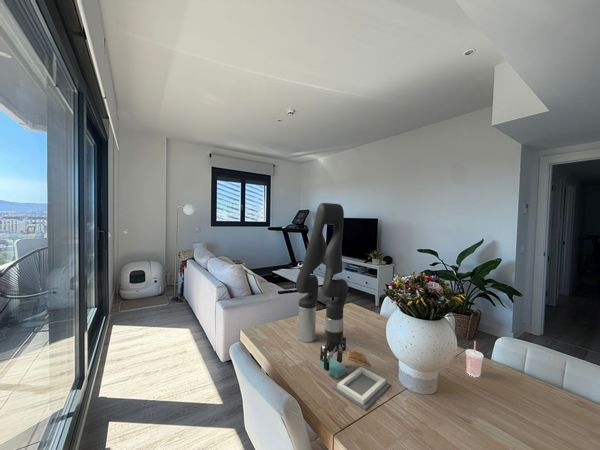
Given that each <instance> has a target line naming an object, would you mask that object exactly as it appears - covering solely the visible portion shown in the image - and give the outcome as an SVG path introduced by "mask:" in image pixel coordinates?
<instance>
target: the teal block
mask: <svg viewBox="0 0 600 450" xmlns="http://www.w3.org/2000/svg"><path fill="white" fill-rule="evenodd" d="M327 359H328V356H327ZM329 362H330V364H329V371H326V372H327V373H329V374H330V375H331V376H332V377H334V378H336V379H339V378H341V377H343V376H345V375H346V371H347V369H346V368H347V367H345V366H344V365H342V363H339V362H338V361H337V360H335V359H334V358H333V357H331V358H330V361H329ZM319 366H320V368H322V369H323V370H325V369H324V362H323V361H321V360H320V359H319Z"/></svg>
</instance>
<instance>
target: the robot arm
mask: <svg viewBox="0 0 600 450" xmlns="http://www.w3.org/2000/svg"><path fill="white" fill-rule="evenodd" d="M344 212H345V211H344V208H343V206H342V204H340V203H332V202H330V203H329V202H320V203H319V205H318V206H317V208H316V212H315V216H314V222H313V227H312V232H311V235H310V238H309V242H308V244H307V248H306V251H305V256H304V260H303V262H302V266H301V267H300V268H301V269H300V270H299V272H298V275H297V276H296V277H297V278H296V281H295V289H296V291H297V293H299V294H306V295H305V296H302V297H301V298H300V299H299V300H298V315H297V316H298V317H297V318H296V335H295V336H296V337H297V339H298V340H299V341H300V342H303V343H311V342H314V341H315V340H316V329H317V327H316V326H317V325H316V324H317V303H318V298H319V297H318V296H319V295H318V294H319V279H318V277H317V275H315V274H312V273H313V272H315V270H316V269H317V268H318V267H320V266H321V265H322V263H323V262H324V261H325V271H324V272H325V273H324V279H323V282H322V287H321V288H322V293H323V295H324V296H325V297H326V298H334V299H333V300H331V301H329V302H327V303H326V307H325V308H326V309H325V323H324V324H325V326H324V338H325V341H326V342H325V343H326V344H325V345H320V351H319V352H320V354H319V361H320V360H321V361H323V362H324V369H323V370H325V371H326V372H327V371H329V364H330V362H329V361H330V358H333V356H334V354H335V353H336V361H337V362H338V363H339V364H342V363H343V354H344V352H346V350H347V338H346V336H344V307H345V303H346V300H347V296H348V293H349V284H348V282H347V281H346V280H345V279H343V278H339V279H338V278H337V279H336V278H335V279H334V276H335V275H338V274H341V273H342V272H343V251H342V247H343V234H344V220H345V213H344ZM326 225H331V226H333V233H332V236H331V238H330V240H329V243H328V244H327V242H326V238H325V237H324V234H323V233H324V227H325V226H326ZM328 352H329V353H328ZM327 357H328V359H327Z"/></svg>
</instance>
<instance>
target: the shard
mask: <svg viewBox="0 0 600 450" xmlns="http://www.w3.org/2000/svg"><path fill="white" fill-rule="evenodd" d="M347 355H348V357H347V360H349V361H354V362H356V363H357V364H360V365H363V366H366V367H370V366H371V364H370V362H368V360H367V358H366V357H365V354H363V353H362V352H361V351H358V350H353V351H351V350H350V351H349V350H348V351H347Z"/></svg>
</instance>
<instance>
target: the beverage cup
mask: <svg viewBox="0 0 600 450" xmlns="http://www.w3.org/2000/svg"><path fill="white" fill-rule="evenodd" d="M476 343H477V341H476V340H474V344H473V349H471V348H466V349H465V355H466V361H465V362H466V374H467V373H468V374H469V375H468V374H467V375H468V376H470V375H471V376H470V377H472V376H473V377H472V378H475V377H479V376H480V377H481V373H482V372H481V371H482V365H483V364H482V363H483V359H484V354H483V353H482V352H480V351H477V350H476ZM480 377H479V378H480Z"/></svg>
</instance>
